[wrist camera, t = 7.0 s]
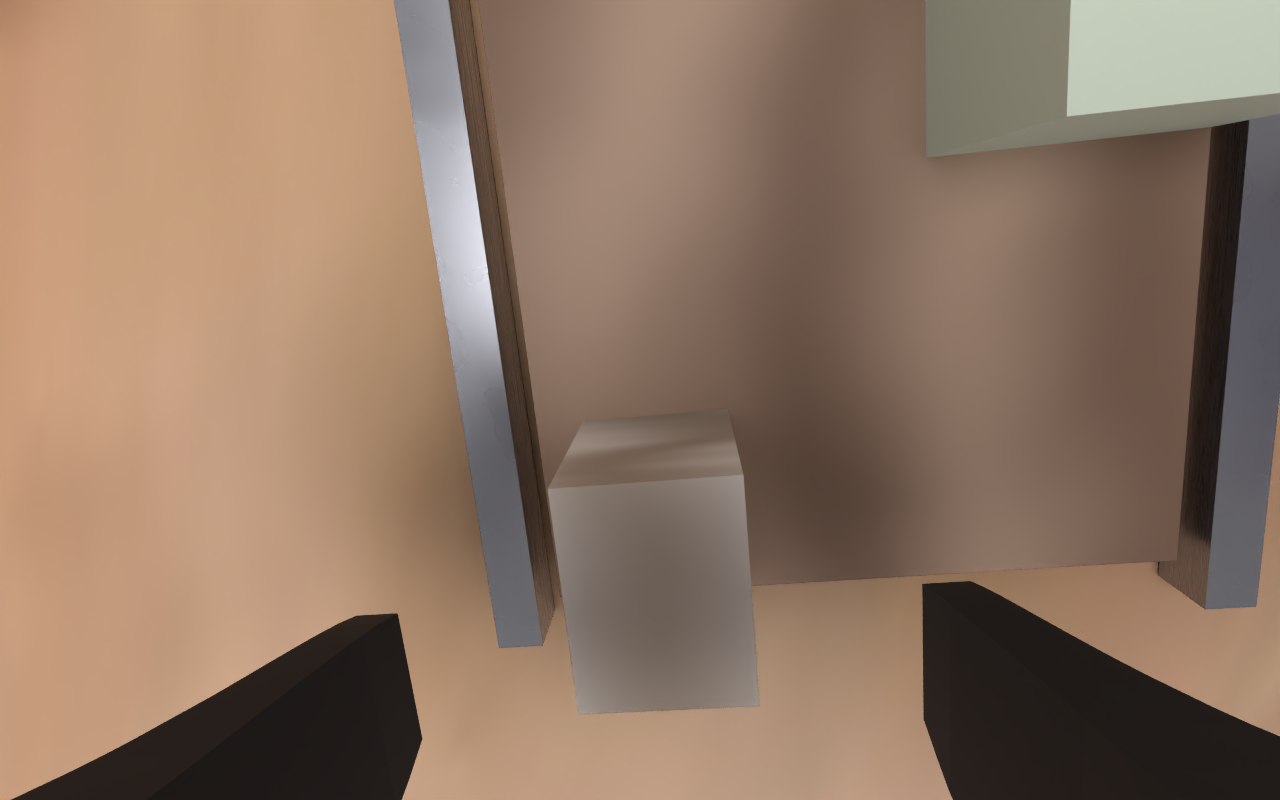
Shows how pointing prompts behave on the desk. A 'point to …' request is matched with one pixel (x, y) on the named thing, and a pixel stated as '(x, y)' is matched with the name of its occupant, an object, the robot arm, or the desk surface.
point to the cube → (1094, 69)
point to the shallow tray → (820, 325)
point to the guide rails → (493, 389)
